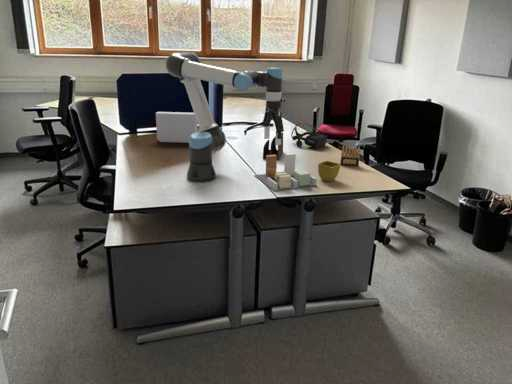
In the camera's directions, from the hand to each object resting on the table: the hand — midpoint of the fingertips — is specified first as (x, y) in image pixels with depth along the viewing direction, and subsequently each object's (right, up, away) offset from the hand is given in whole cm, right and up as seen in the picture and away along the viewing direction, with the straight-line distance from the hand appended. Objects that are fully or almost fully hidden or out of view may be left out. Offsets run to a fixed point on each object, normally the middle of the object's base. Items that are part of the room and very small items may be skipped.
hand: (272, 141), depth 218 cm
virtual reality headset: (+27, +6, +75) cm, 80 cm away
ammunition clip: (+47, -10, +33) cm, 58 cm away
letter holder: (+2, -3, +49) cm, 49 cm away
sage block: (+13, -19, +4) cm, 24 cm away
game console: (-63, +9, +77) cm, 99 cm away
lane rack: (+7, -20, +5) cm, 22 cm away
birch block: (+3, -21, 0) cm, 21 cm away
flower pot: (+30, -20, +8) cm, 37 cm away
